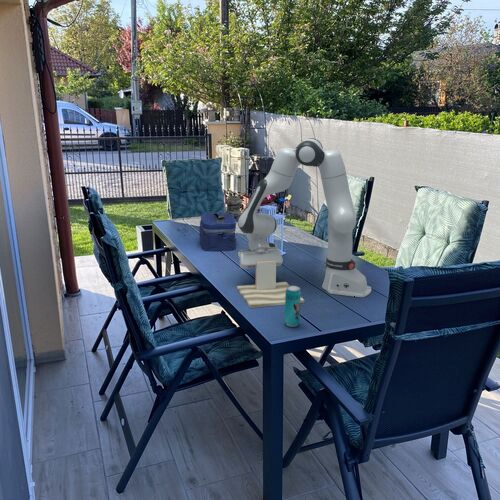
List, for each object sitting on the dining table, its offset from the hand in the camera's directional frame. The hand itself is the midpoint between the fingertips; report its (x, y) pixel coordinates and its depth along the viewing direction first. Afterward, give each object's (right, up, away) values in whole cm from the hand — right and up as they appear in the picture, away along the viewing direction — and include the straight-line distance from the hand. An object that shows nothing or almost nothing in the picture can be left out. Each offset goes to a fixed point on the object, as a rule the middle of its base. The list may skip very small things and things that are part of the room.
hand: (264, 274), depth 224 cm
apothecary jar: (-19, +33, +141) cm, 146 cm away
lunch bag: (-26, +14, +73) cm, 79 cm away
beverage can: (+10, -18, -36) cm, 41 cm away
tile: (+1, -6, -1) cm, 6 cm away
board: (+2, -9, -6) cm, 11 cm away
